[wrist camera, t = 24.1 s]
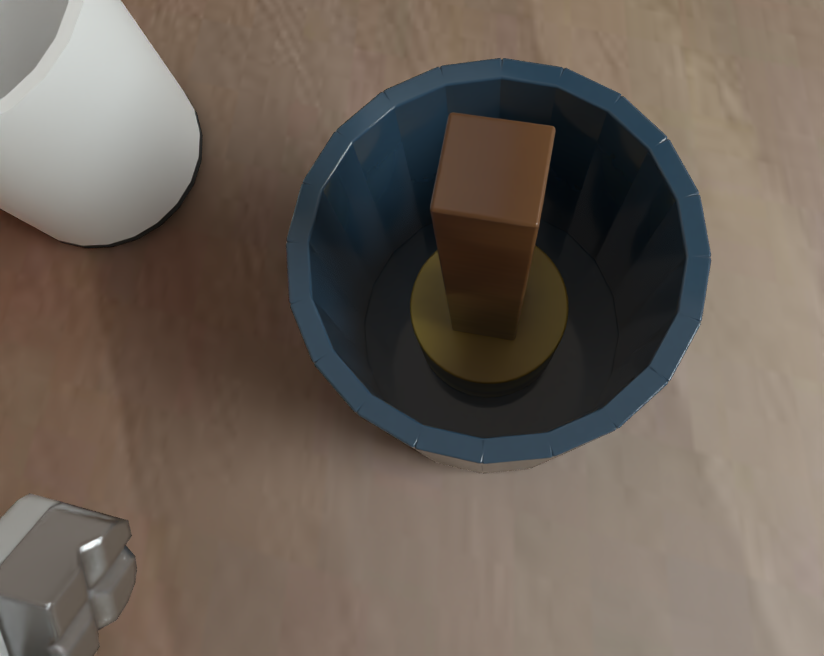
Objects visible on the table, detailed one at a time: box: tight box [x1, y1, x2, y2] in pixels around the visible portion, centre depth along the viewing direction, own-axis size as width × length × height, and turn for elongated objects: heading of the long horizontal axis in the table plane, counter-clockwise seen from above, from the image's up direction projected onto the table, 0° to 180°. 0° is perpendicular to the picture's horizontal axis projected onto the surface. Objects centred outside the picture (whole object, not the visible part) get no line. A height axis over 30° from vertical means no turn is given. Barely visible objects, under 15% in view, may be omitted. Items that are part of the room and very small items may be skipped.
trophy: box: [410, 112, 569, 397], centre depth 21 cm, size 5×5×14 cm
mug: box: [0, 0, 202, 248], centre depth 26 cm, size 11×9×10 cm
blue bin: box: [286, 58, 711, 473], centre depth 23 cm, size 10×10×10 cm
